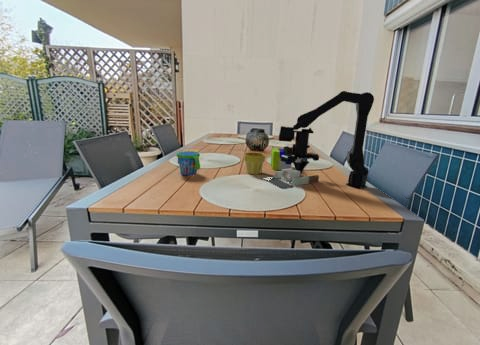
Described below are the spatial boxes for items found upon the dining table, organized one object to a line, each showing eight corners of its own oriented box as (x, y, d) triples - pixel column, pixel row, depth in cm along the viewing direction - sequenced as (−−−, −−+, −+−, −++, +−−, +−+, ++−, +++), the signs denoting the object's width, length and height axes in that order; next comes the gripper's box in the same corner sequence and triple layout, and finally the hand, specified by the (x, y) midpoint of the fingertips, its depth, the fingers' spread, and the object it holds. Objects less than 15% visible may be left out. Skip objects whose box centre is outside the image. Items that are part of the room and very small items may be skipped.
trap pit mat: (293, 187, 106) (293, 186, 106) (282, 188, 103) (282, 187, 103) (271, 177, 119) (271, 176, 119) (261, 178, 116) (261, 177, 116)
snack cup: (171, 171, 122) (170, 151, 120) (190, 168, 129) (190, 149, 126) (186, 179, 111) (185, 157, 108) (206, 175, 117) (206, 154, 114)
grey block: (299, 181, 113) (300, 171, 112) (289, 183, 111) (290, 172, 109) (290, 178, 118) (291, 168, 117) (280, 179, 116) (281, 169, 114)
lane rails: (318, 181, 114) (319, 175, 113) (293, 185, 107) (293, 179, 106) (298, 174, 125) (299, 168, 125) (274, 177, 118) (275, 171, 118)
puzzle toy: (290, 170, 134) (292, 152, 131) (272, 169, 134) (273, 151, 131) (287, 166, 143) (289, 149, 141) (270, 165, 143) (271, 148, 141)
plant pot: (262, 176, 120) (263, 156, 117) (241, 174, 122) (242, 155, 119) (264, 171, 130) (266, 152, 127) (245, 169, 132) (246, 151, 129)
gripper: (304, 139, 123) (301, 169, 127) (274, 140, 115) (272, 173, 119) (321, 142, 114) (317, 175, 118) (289, 144, 105) (286, 179, 109)
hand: (298, 175), depth 116 cm, fingers closed
